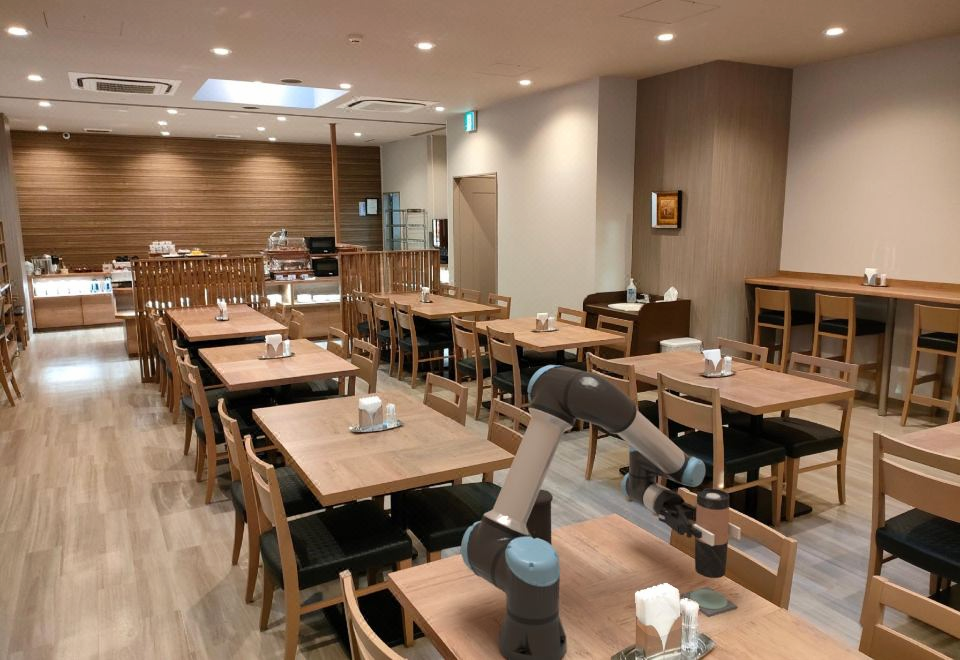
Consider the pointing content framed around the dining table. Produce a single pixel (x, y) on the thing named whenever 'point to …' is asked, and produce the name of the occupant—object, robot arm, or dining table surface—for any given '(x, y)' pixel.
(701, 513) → the travel mug
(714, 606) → the coaster
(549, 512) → the container
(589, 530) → the dining table surface
